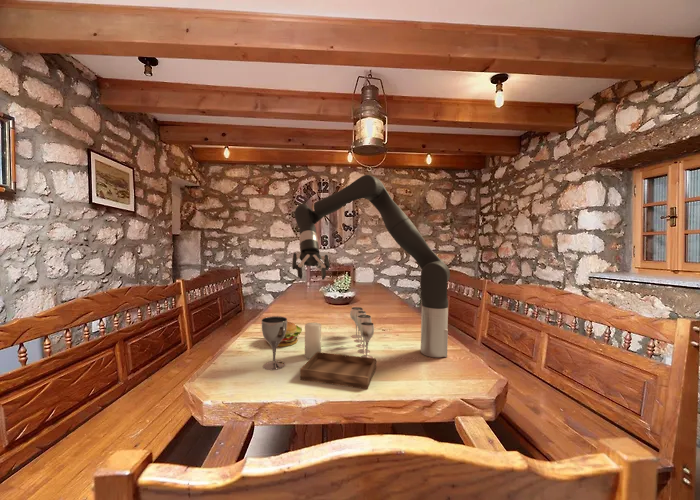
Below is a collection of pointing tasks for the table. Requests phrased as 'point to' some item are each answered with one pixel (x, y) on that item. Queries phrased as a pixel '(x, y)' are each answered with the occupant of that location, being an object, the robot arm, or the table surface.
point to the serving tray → (339, 370)
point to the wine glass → (274, 337)
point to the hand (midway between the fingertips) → (312, 277)
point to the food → (290, 335)
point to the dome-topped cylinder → (312, 339)
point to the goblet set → (362, 329)
